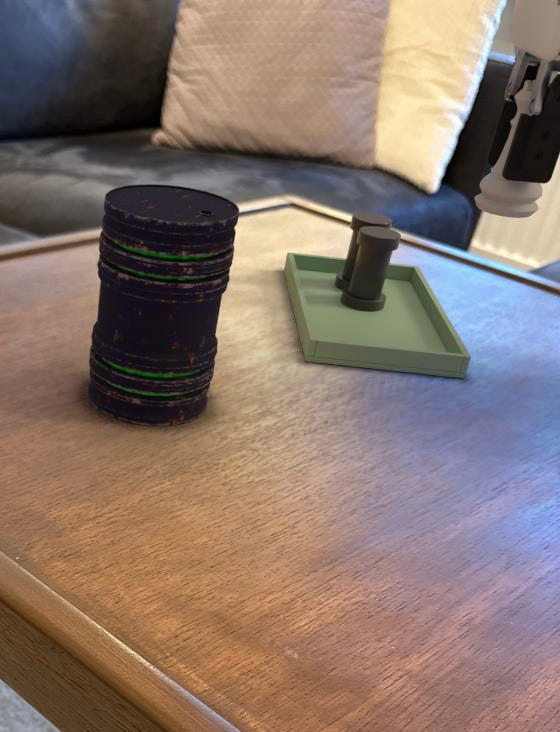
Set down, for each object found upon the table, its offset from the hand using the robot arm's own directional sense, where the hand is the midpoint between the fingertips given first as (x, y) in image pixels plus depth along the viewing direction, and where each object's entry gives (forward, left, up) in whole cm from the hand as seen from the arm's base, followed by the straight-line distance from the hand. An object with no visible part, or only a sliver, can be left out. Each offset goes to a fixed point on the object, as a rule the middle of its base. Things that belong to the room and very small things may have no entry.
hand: (517, 170), depth 69 cm
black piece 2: (+3, -25, -18) cm, 31 cm away
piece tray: (+3, -22, -19) cm, 29 cm away
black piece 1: (+3, -30, -18) cm, 35 cm away
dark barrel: (+24, +2, -19) cm, 30 cm away
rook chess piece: (0, 0, -3) cm, 3 cm away
